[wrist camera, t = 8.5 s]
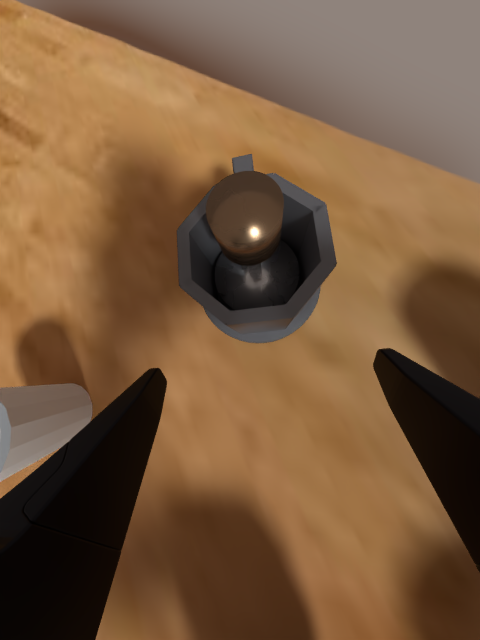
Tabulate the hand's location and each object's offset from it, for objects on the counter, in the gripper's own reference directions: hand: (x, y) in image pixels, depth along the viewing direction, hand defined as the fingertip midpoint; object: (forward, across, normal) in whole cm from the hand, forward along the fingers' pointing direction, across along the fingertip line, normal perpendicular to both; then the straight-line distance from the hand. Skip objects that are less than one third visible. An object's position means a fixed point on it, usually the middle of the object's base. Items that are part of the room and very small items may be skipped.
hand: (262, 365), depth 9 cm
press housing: (+12, 0, +2) cm, 12 cm away
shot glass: (+5, +20, +10) cm, 23 cm away
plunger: (+10, 0, 0) cm, 10 cm away
